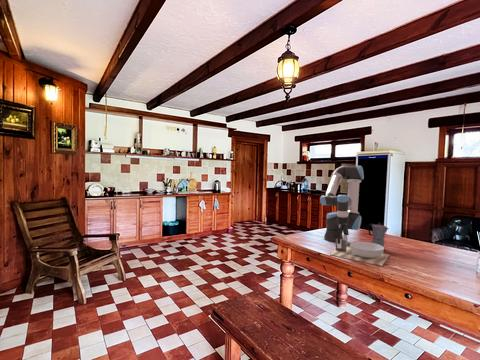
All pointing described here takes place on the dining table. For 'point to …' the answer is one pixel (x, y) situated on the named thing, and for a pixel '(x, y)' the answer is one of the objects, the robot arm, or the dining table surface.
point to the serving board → (348, 254)
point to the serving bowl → (367, 249)
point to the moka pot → (378, 233)
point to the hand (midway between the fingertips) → (342, 245)
